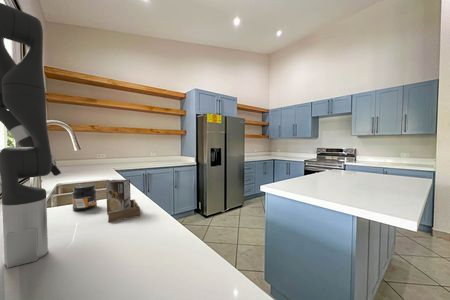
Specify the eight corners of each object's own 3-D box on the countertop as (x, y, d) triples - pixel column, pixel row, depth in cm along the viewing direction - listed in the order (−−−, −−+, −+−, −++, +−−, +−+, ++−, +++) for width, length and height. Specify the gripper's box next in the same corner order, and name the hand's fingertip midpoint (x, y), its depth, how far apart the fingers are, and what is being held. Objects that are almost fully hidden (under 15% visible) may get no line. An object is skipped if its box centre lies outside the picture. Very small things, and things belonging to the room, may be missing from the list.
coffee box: (131, 210, 99) (131, 179, 98) (125, 214, 93) (124, 181, 92) (113, 210, 99) (113, 179, 99) (106, 214, 93) (105, 181, 92)
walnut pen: (139, 216, 91) (139, 207, 91) (108, 222, 84) (108, 213, 84) (134, 206, 105) (134, 199, 105) (107, 211, 98) (106, 203, 98)
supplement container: (77, 213, 95) (77, 189, 95) (69, 209, 101) (68, 186, 100) (100, 207, 104) (100, 185, 104) (91, 203, 110) (91, 183, 109)
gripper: (34, 130, 71) (64, 169, 74) (46, 136, 83) (71, 169, 86) (9, 140, 68) (41, 180, 71) (25, 144, 79) (52, 179, 82)
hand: (58, 174), depth 78 cm, fingers closed
